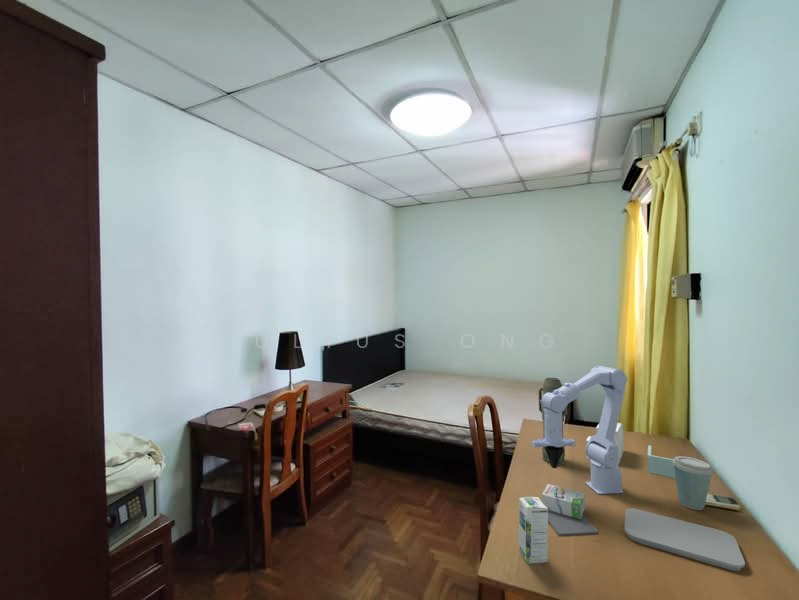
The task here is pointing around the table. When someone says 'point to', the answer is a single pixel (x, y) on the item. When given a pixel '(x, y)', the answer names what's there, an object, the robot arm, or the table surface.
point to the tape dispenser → (617, 439)
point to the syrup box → (533, 530)
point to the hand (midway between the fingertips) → (553, 467)
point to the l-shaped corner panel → (660, 465)
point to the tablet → (684, 539)
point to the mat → (570, 525)
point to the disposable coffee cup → (692, 481)
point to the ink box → (564, 501)
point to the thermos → (548, 386)
